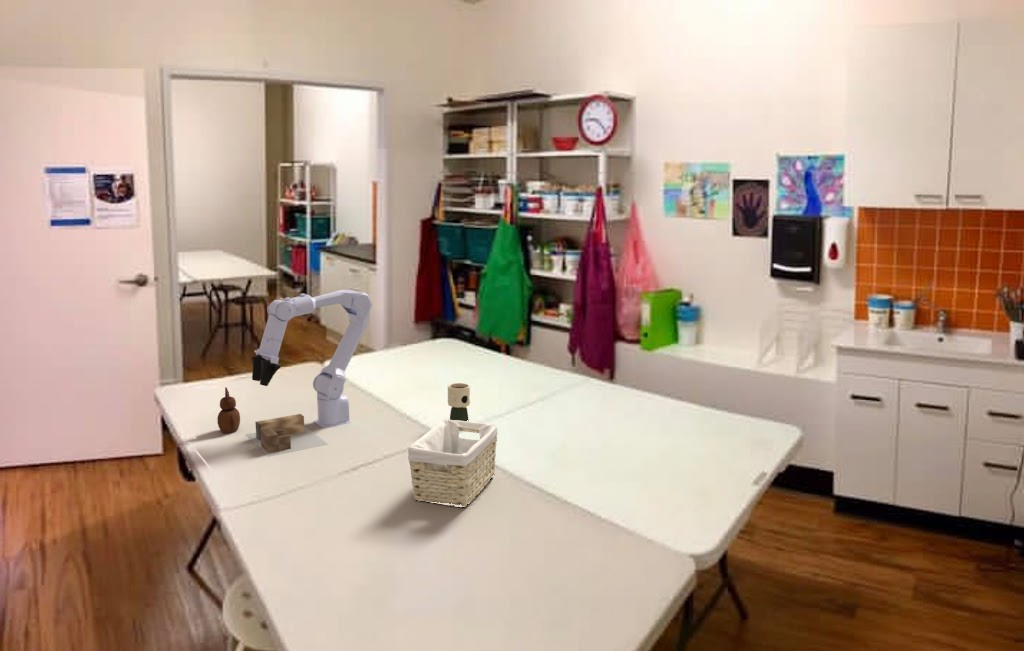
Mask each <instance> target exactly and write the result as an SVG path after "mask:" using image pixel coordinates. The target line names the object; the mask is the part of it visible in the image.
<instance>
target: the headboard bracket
mask: <svg viewBox="0 0 1024 651" xmlns="http://www.w3.org/2000/svg"><path fill="white" fill-rule="evenodd" d="M260 433H261V446H262V447H263V448H264V449H265V450H266V451H267V452H268V453H272V452H277V451H281V450H286V449H291V440H290V435H289V434H288V435H284V430H283V429H280V430H272V429H271V428H267V429H262V430H260Z"/></svg>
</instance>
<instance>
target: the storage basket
mask: <svg viewBox="0 0 1024 651" xmlns="http://www.w3.org/2000/svg"><path fill="white" fill-rule="evenodd" d="M460 432H466V433H467V432H469V433H475V434H479V439H467V438H461V437H460ZM497 442H498V427H497V425H496V424H491V423H490V424H489V423H482V422H475V421H469V422H468V421H459V420H450V419H448V418H447V419H443V420H441V421H440V422H439V423H437V424H436V425H435V426H434V427H432V428H431V429H429V430H428V431H427V432H425V434H424V435H422V436H420V437H419V438H418V439H417V440H415V441H414V442H413V443H412V444H410V445H409V447H408V448H407V450H408V451H407V454H408V456H407V457H408V458H407V459H408V462H409V468H410V475H411V477H410V478H411V485H412V490H413V497H414V500H415V501H416V500H418V501H417V502H419V501H427V502H437V503H439V502H440V503H449V504H451V503H452V504H455V505H460V504H461V505H462V506H466V505H467V504H468V503H469V502H473V501H474V500H473V499H475V498H476V497H477V496H478V495H479V494H480V493H481V492H482V491H483V489H484V488H485V487H486V485H488V484H489V483H490V481H491V480H490V478H492V476H493V475H494V476H496V473H495V467H496V465H495V464H496V457H497V456H496V454H497V453H496V452H497V451H496V447H497ZM492 479H493V478H492ZM487 483H488V484H487ZM484 486H485V487H484ZM481 490H482V491H481ZM480 491H481V492H480ZM476 495H477V496H476ZM475 496H476V497H475Z"/></svg>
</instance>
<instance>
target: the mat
mask: <svg viewBox="0 0 1024 651" xmlns="http://www.w3.org/2000/svg"><path fill="white" fill-rule="evenodd" d="M304 429H305V432H301V433H296V434H290V440H291V449H286V450H281V451H277V452H272V453H268V452H267V451H266V450H265V449H264V448H263V447H262V446H261V440H258V439H257V438H256V432H252V433H247V434H245V436H246V437H247V438H248V439H249V440H250V441H251V442H253V444H254V445H255V446H257V448H259V449H260V450H261V451H262V452H263V453H264V454H265V455H266V456H267V457H272V456H279V455H283V454H287V453H293V452H298V451H303V450H307V449H311V448H317V447H322V446H326V445H327V446H328V445H329V443H328V442H326V441H325V440H324V439H323V438H321V437H320V436H319V435H317V434H316V433H315V432H314V431H312V430H311V429H309V428H308V427H307V426H305V425H304Z"/></svg>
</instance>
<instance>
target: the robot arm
mask: <svg viewBox="0 0 1024 651" xmlns="http://www.w3.org/2000/svg"><path fill="white" fill-rule="evenodd" d="M333 305H341V307H342V308H343V309H344V311H345V312H346V313H347V314H348V315H347V316H348V318H349V320H350V321H349V324H348V326H347V328H346V330H345V332H344V334H343V335H342V336H341V337H342V338H341V340H340V341H339V344H338V346H337V347H336V350H335V351H334V354H333V356H332V357H331V359H330V361H329V363H328V365H326V366H325V367H323V368H322V369H321V371H320V373H318V374H317V375H316V376H315V377H314V379H313V381H312V387H313V389H314V391H315V392H316V399H317V401H316V402H317V419H314V420H313V422H314V423H315V424H316V425H318V426H319V427H320V428H322V429H325V428H329V427H336V426H340V425H346V424H351V421H350V404H349V403H350V402H349V399H348V397H347V395H346V394H344V391H345V390H344V389H345V383H346V380H347V378H346V373H345V372H346V370H347V368H348V366H349V363H350V361H351V360H352V357H353V356H354V353H355V352H356V350H357V348H358V347H359V346H358V345H359V343H360V342H361V340H362V338H363V335H364V333H365V332H366V329H367V328H368V326H369V323H370V314H371V309H372V307H373V303H372V299H371V297H370V295H368V293H366V292H363V291H358V290H357V291H356V290H353V289H351V288H347V289H339V290H336V291H333V292H332V291H331V292H328V293H325V294H321V295H316V296H313V297H312V296H311V295H309V294H306V293H300V294H299V295H298V296H295V297H289V296H288V297H287V296H286V297H285V299H284V300H283V299H274V300H273V301H272V302H271V303H269V305H267V309H266V310H267V314H268V318H267V322H266V324H265V328H264V330H263V331H264V332H263V335H262V339H261V342H260V345H259V348H257V349H255V350H254V353H255V355H256V356H254V355H251V357H250V358H251V363H252V373H251V374H252V375H251V379H252V381H254V382H255V381H256V382H259V385H261V386H265V387H268V385H269V384H270V382H271V380H272V379H273V377H274V376H275V374H276V373H277V372H278V371H279V369H281V367H282V366H281V365H280V364H279V361H280V357H279V353H280V350H281V348H282V347H281V346H282V344H283V343H282V342H283V339H284V336H285V332H286V329H287V325H288V322H289V321H291V320H292V318H295V317H298V316H302V315H307V314H312V313H313V312H314V311H315V309H316V308H322V307H328V306H333Z"/></svg>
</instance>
